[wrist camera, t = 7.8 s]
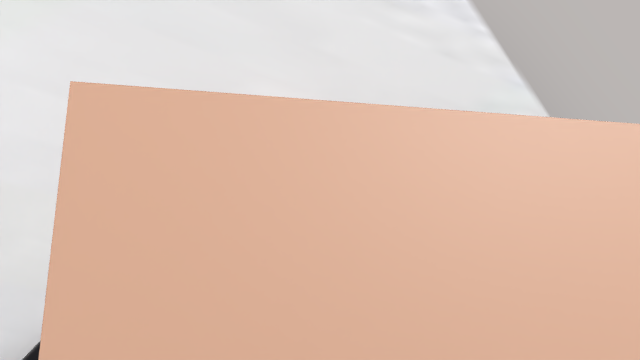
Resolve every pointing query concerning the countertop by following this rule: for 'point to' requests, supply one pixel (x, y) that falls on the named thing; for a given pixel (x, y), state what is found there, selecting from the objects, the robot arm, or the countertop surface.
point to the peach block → (338, 232)
